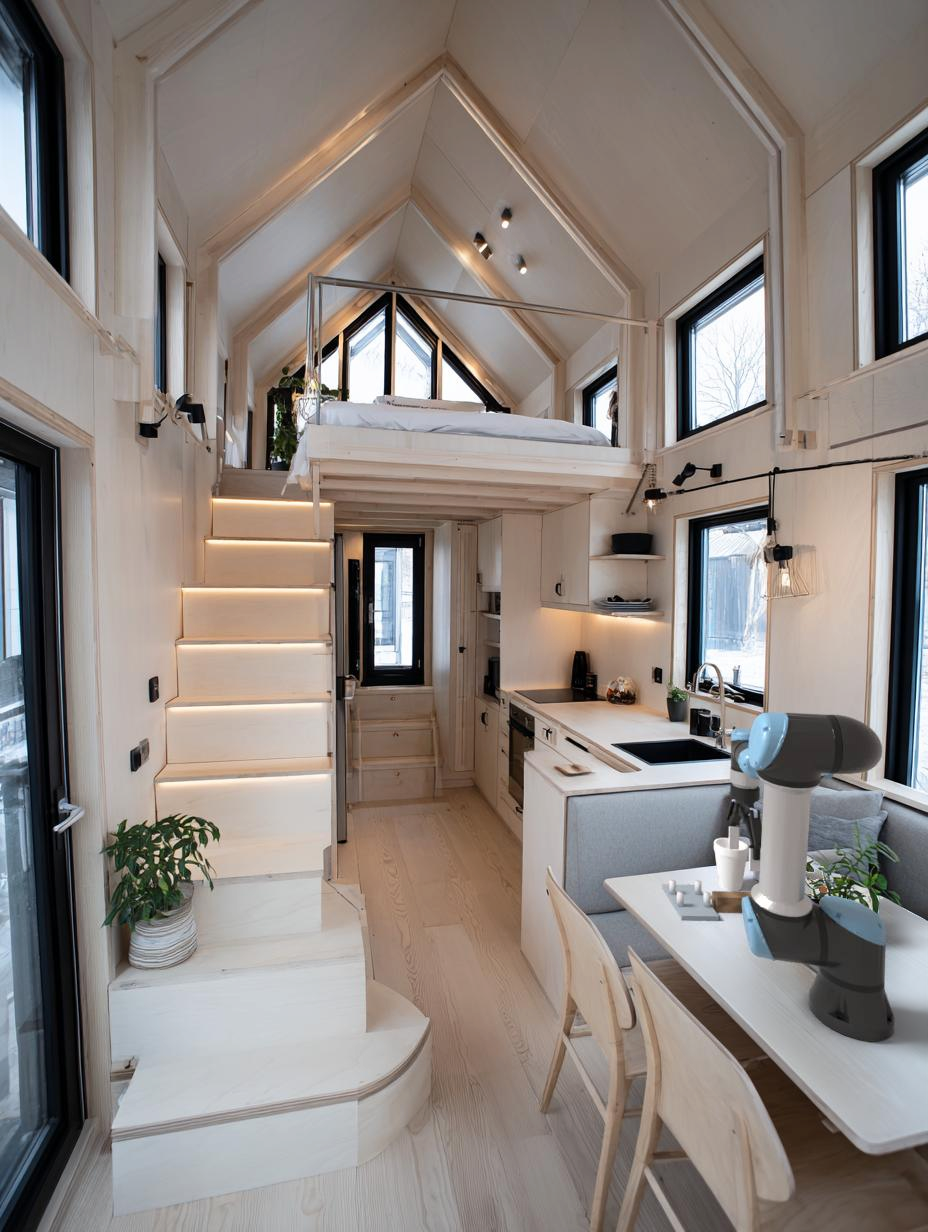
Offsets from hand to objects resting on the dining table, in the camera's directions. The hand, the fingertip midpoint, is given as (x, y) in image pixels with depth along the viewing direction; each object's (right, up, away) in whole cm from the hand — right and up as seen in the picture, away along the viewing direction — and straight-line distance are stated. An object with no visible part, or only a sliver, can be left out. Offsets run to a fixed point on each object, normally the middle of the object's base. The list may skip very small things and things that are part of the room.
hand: (743, 859), depth 171 cm
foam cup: (+2, -14, +14) cm, 20 cm away
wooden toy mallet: (0, -14, 0) cm, 14 cm away
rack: (-14, -14, +4) cm, 20 cm away
